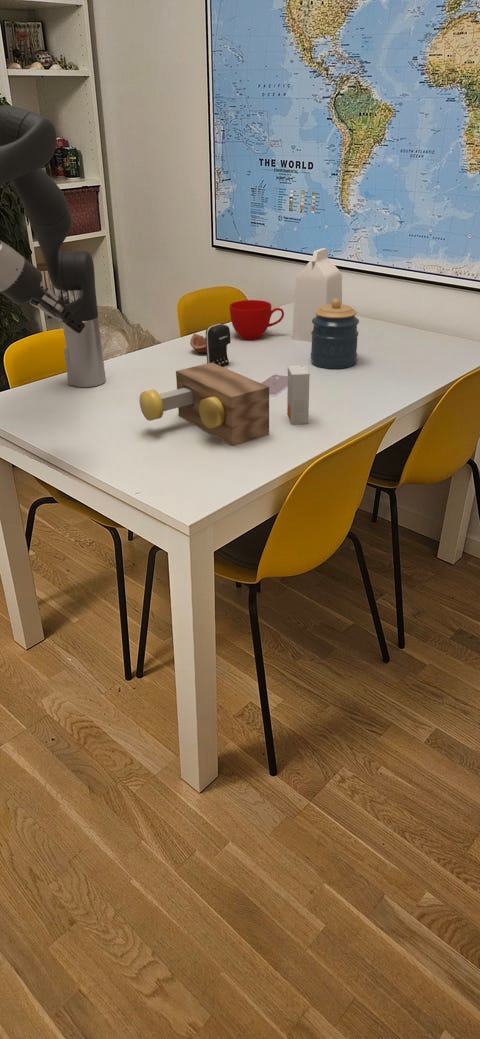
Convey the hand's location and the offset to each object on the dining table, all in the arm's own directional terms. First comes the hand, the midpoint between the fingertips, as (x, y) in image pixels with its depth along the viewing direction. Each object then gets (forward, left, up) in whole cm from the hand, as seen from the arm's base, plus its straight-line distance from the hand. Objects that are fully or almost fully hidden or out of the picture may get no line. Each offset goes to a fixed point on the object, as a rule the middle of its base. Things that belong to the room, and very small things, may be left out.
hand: (80, 328), depth 141 cm
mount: (+25, +13, -26) cm, 38 cm away
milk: (+49, +87, -26) cm, 103 cm away
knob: (+16, +13, -23) cm, 30 cm away
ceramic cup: (+30, +87, -26) cm, 95 cm away
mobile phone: (+37, +41, -26) cm, 61 cm away
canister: (+53, +61, -26) cm, 85 cm away
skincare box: (+43, +18, -26) cm, 53 cm away
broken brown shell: (+15, +70, -26) cm, 76 cm away
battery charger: (+21, +57, -26) cm, 66 cm away
